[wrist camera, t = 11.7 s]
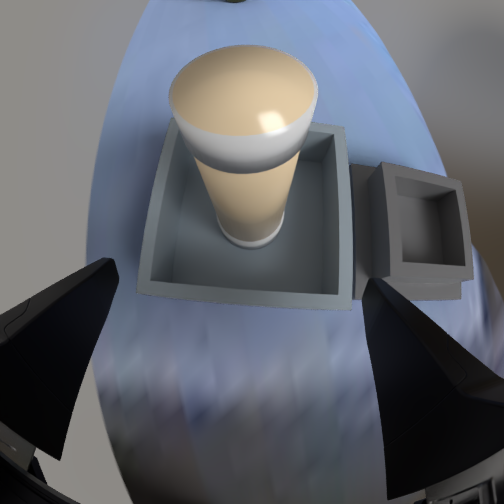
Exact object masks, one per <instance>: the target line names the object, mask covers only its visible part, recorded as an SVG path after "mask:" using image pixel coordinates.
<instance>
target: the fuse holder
mask: <svg viewBox="0 0 504 504" xmlns="http://www.w3.org/2000/svg"><path fill="white" fill-rule="evenodd" d="M349 175H350V189H351V206H352V233H353V281H352V300H362V295H363V292H364V290H365V287H366V284H367V281H368V279H369V278H371V277H377V278H381V279H383V280H384V281H385V282H387V283H388V284H389V285H390V286H392V287H393V288H394V289H395V290H397V291H398V292H399V293H400V294H402V295H403V296H404V297H405V298H406V299H408V300H409V301H426V300H458V299H461V282H463V281H468V280H473V279H474V275H473V258H472V246H471V237H470V229H469V222H468V215H467V209H466V203H465V198H464V193H463V188H462V184H461V181H458V180H454V179H451V178H448V177H444V176H441V175H437V174H433V173H429V172H425V171H421V170H417V169H413V168H409V167H404V166H400V165H395V164H390V163H385V162H381V163H380V164H379V166H378V167H377V168H375V167H370V166H364V165H357V164H351V165H350V166H349Z"/></svg>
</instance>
